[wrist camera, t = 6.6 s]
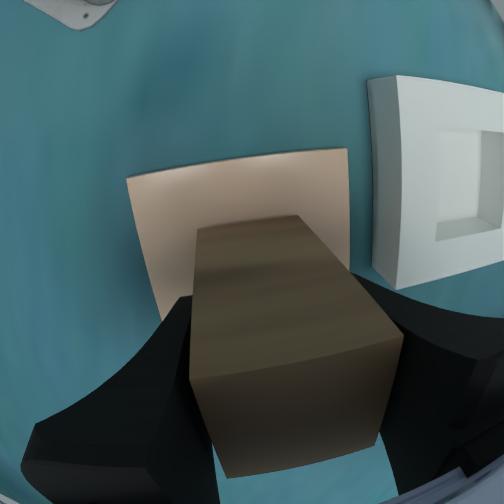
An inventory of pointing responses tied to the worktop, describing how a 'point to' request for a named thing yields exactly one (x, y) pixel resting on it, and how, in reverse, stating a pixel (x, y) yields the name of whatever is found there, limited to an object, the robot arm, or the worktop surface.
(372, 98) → the pocket block
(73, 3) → the emergency button
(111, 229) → the worktop surface
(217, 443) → the peg
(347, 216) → the pad
